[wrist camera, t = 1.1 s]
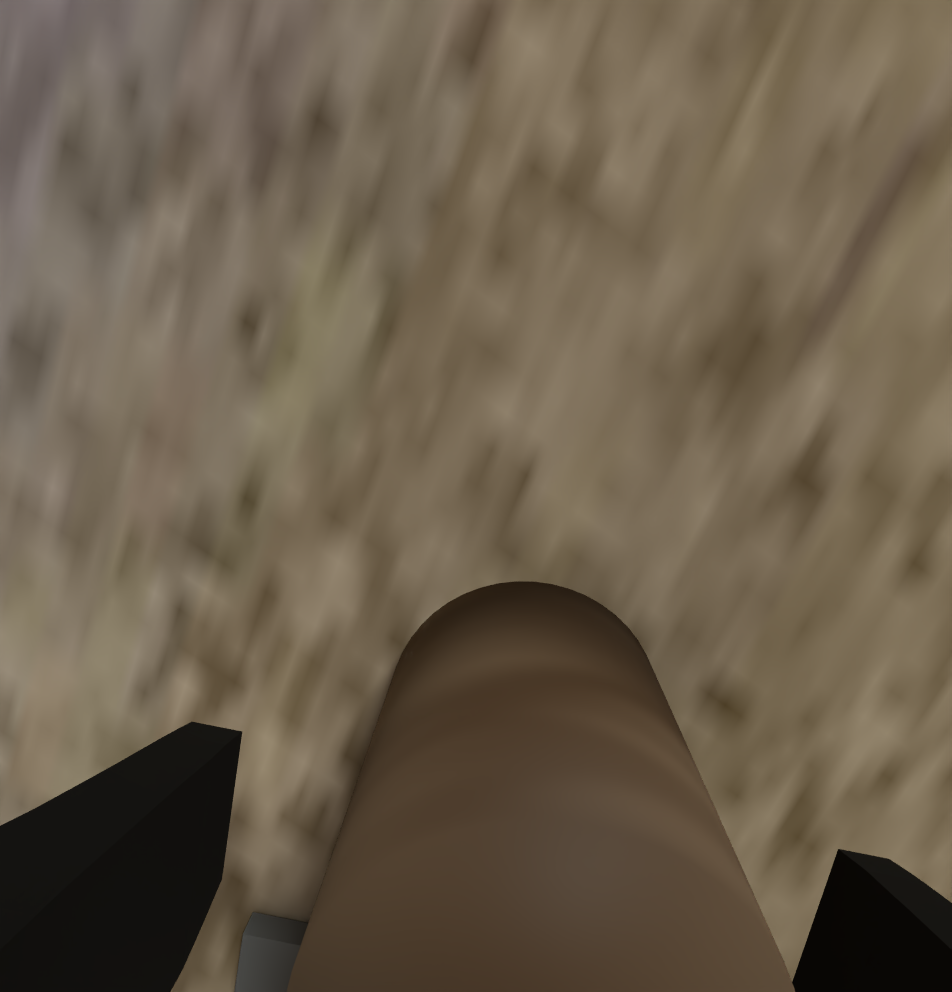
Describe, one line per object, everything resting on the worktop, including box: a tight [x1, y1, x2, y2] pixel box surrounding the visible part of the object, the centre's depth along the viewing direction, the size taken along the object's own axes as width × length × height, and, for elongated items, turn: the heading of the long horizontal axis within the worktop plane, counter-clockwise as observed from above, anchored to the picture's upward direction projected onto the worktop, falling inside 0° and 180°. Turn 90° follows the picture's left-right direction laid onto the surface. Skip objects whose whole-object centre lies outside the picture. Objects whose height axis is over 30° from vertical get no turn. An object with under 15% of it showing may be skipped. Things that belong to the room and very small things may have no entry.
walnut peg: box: [287, 582, 795, 992], centre depth 9 cm, size 4×4×6 cm
